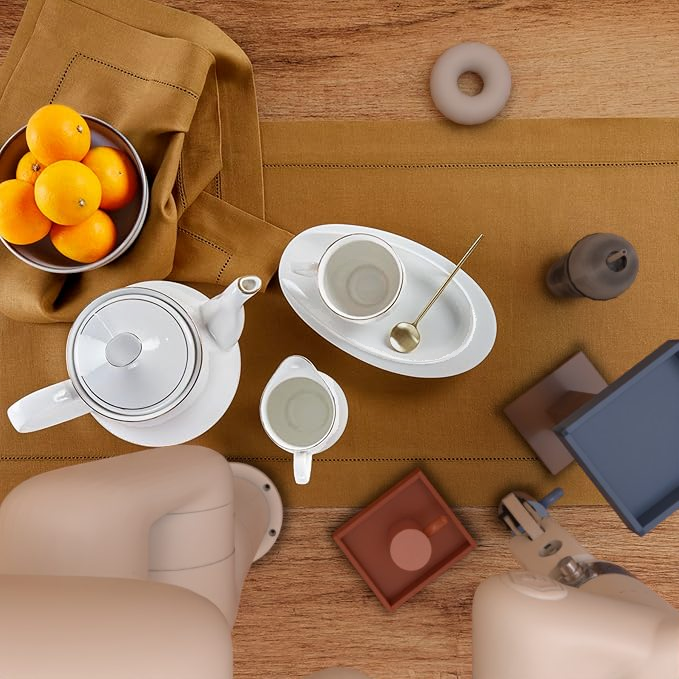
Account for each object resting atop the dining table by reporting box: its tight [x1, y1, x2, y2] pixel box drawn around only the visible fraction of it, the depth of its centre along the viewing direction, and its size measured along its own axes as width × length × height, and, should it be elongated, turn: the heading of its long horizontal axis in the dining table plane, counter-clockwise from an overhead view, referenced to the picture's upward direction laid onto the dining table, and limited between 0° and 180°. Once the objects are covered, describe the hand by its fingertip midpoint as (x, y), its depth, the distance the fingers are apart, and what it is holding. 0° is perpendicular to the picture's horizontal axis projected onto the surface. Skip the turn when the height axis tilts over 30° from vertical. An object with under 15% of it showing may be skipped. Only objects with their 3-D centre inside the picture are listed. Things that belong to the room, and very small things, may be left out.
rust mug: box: [387, 515, 448, 571], centre depth 77 cm, size 8×5×5 cm, turn 127°
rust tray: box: [332, 466, 479, 614], centre depth 78 cm, size 13×11×2 cm
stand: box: [501, 350, 610, 477], centre depth 69 cm, size 12×10×22 cm
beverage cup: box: [545, 232, 640, 302], centre depth 70 cm, size 7×7×20 cm
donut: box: [429, 41, 513, 126], centre depth 79 cm, size 10×4×10 cm
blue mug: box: [497, 486, 565, 537], centre depth 77 cm, size 8×5×5 cm, turn 127°
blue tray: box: [552, 338, 679, 538], centre depth 57 cm, size 13×11×2 cm
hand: (541, 547), depth 66 cm, fingers open, 9 cm apart
